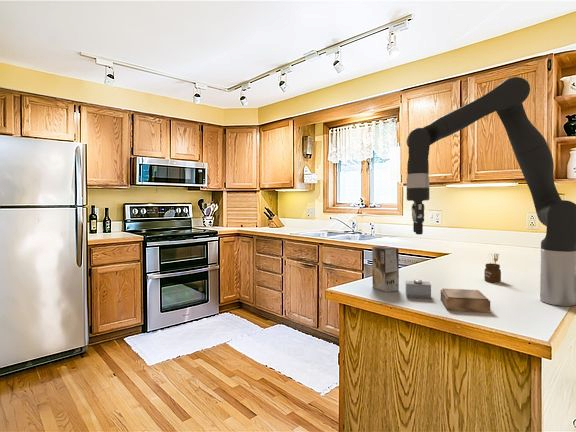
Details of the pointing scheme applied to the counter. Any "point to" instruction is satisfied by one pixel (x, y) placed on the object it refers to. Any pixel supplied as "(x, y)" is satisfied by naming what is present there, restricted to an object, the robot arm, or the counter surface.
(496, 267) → the utensil holder
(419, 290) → the block
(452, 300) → the walnut stand
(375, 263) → the coffee box
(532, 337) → the counter surface
